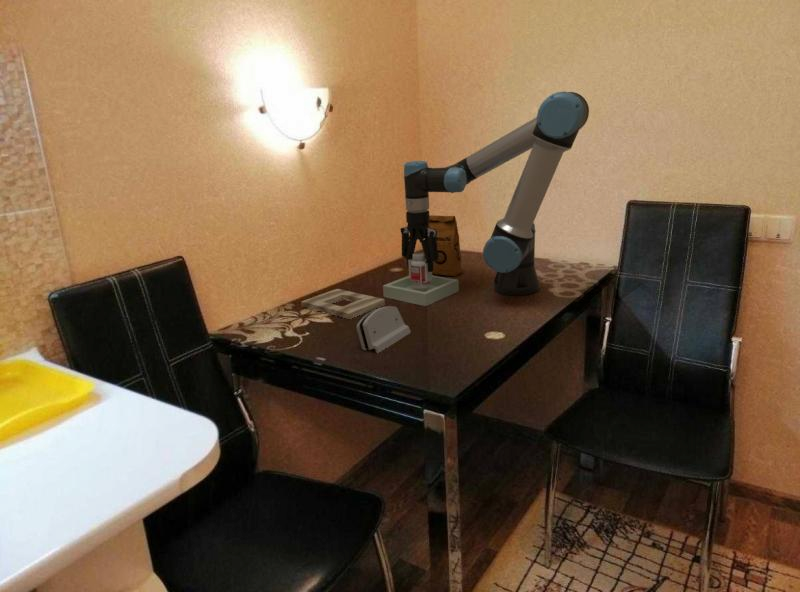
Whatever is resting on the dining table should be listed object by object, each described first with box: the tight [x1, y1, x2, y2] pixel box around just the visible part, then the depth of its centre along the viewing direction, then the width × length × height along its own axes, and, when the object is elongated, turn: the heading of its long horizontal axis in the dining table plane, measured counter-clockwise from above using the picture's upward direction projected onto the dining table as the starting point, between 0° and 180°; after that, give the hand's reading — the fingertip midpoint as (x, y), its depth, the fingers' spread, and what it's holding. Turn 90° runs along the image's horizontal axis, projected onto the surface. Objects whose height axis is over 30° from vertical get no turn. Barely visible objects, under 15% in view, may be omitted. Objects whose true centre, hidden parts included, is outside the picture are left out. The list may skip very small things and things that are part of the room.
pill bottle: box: [411, 251, 430, 288], centre depth 196 cm, size 6×6×11 cm
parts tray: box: [382, 274, 460, 307], centre depth 198 cm, size 18×18×4 cm
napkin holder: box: [356, 305, 411, 354], centre depth 160 cm, size 17×5×10 cm, turn 147°
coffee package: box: [428, 214, 462, 277], centre depth 217 cm, size 10×12×22 cm
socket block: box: [301, 288, 386, 320], centre depth 190 cm, size 22×16×2 cm
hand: (420, 279), depth 197 cm, fingers closed on pill bottle, 6 cm apart
